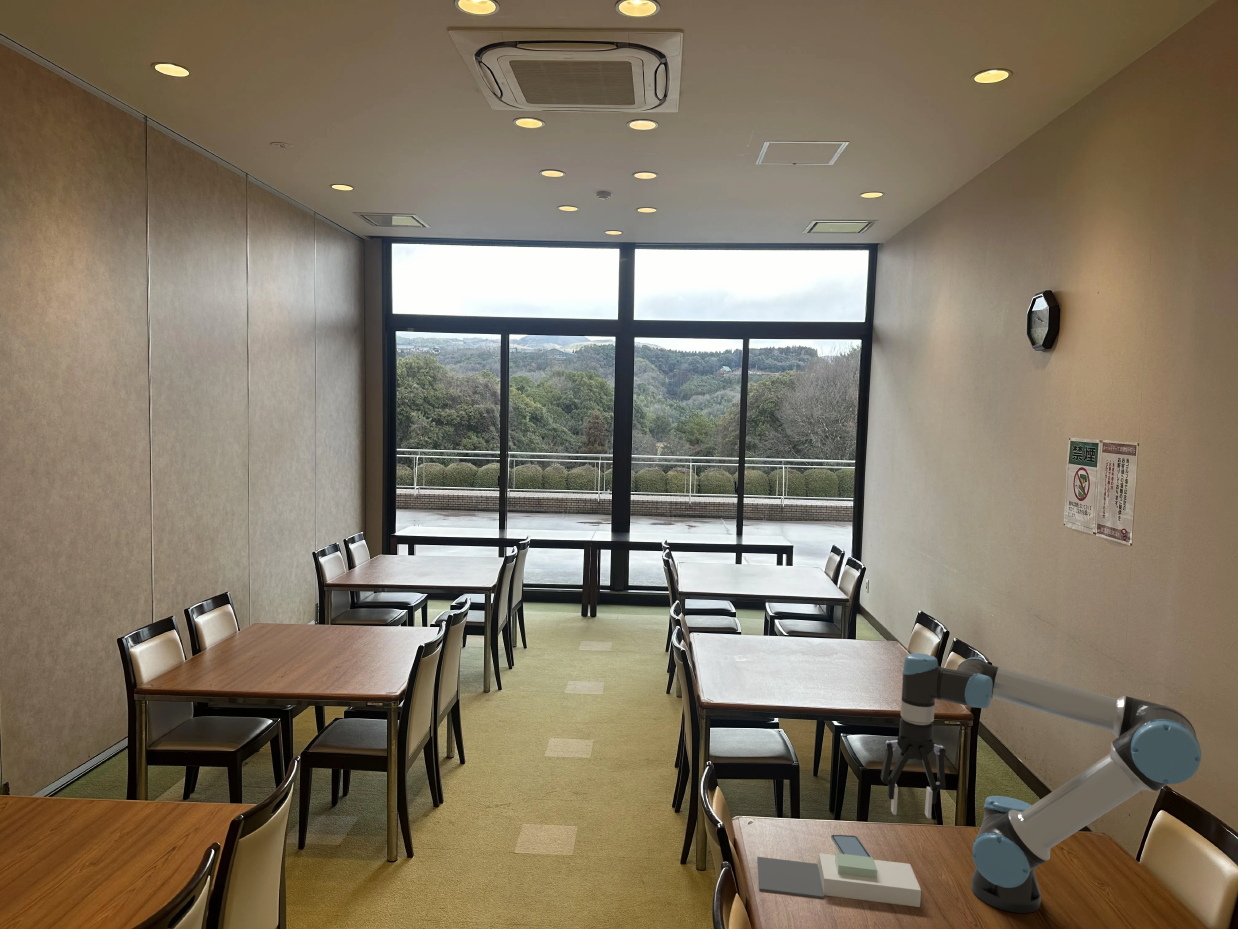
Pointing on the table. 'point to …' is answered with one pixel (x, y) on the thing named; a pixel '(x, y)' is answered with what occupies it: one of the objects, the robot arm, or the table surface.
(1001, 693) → the robot arm
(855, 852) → the smartphone
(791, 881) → the mat
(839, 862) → the tile
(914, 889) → the board
